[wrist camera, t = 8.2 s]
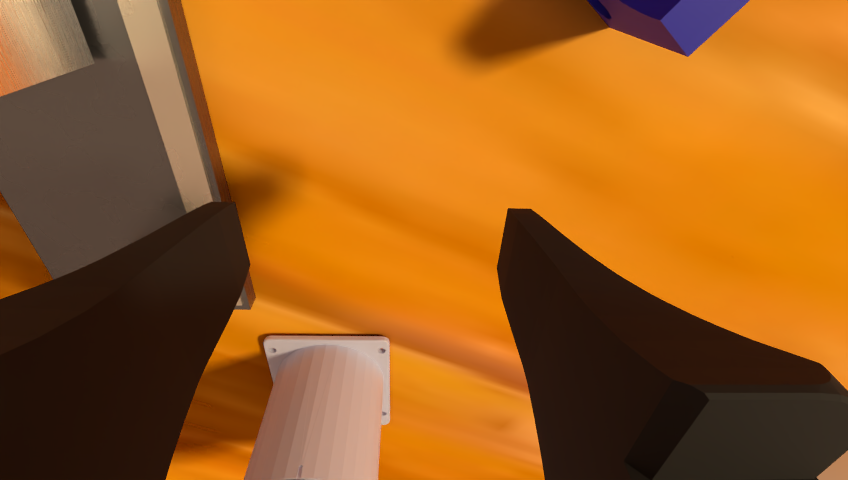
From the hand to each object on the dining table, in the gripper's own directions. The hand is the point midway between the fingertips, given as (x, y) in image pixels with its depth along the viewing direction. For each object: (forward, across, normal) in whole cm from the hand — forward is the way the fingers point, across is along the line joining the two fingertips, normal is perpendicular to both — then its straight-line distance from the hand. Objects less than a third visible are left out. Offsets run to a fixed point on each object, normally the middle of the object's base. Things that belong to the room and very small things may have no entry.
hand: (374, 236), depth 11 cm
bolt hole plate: (+9, +13, +2) cm, 16 cm away
